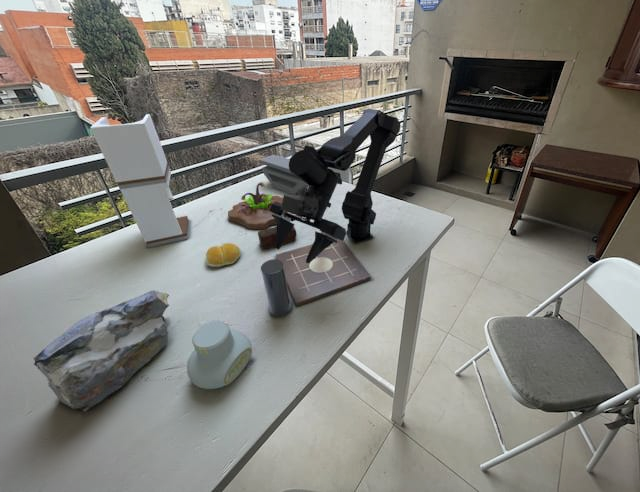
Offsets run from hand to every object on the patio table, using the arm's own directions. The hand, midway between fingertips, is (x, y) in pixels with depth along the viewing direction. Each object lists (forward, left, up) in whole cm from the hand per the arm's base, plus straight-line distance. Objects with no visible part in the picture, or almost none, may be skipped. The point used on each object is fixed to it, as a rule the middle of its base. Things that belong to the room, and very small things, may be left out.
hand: (291, 255), depth 64 cm
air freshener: (+18, +12, -12) cm, 25 cm away
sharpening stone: (-15, -59, -12) cm, 62 cm away
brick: (-1, -23, -12) cm, 26 cm away
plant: (0, -43, -12) cm, 45 cm away
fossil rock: (+33, +3, -12) cm, 35 cm away
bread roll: (+15, -22, -12) cm, 29 cm away
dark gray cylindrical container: (+5, +3, -12) cm, 13 cm away
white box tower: (+29, -43, -12) cm, 53 cm away
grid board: (-9, -6, -12) cm, 16 cm away
